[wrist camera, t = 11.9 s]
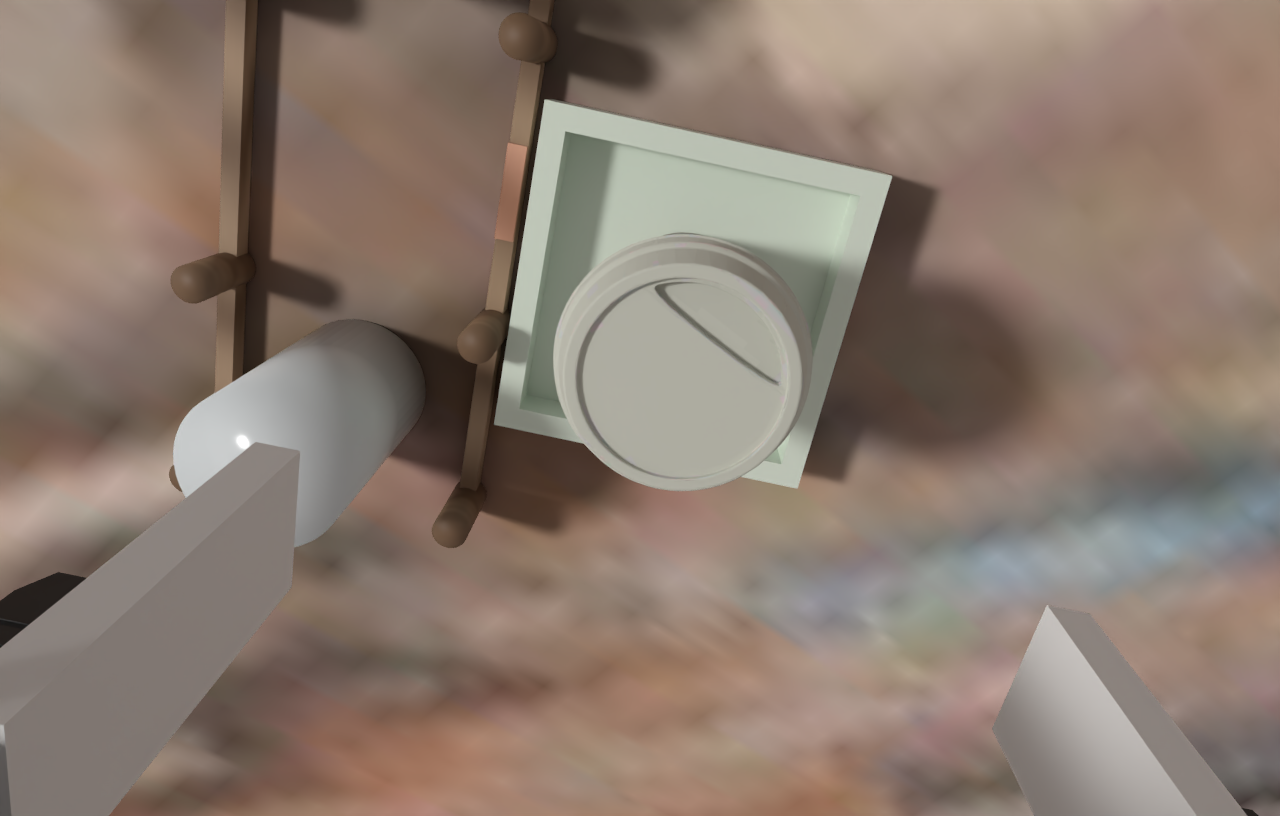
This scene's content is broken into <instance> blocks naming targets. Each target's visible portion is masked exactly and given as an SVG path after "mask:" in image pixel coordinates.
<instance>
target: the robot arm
mask: <svg viewBox="0 0 1280 816" xmlns="http://www.w3.org/2000/svg"><path fill="white" fill-rule="evenodd" d="M299 462H300V451H298V450H293V449H288V448H283V447H278V446H274V445H269V444H264V443H259V442H255V443H254V444H252V445H251V446H250V447H249V448H247V449H246V450H245V451H244V452H242V453H241V454H240V455H239V456H237V457H236V458H235V459H234V460H232V461H231V462H230V463H229V464H228V465H226V466H225V467H224V468H223V469H221V470H220V471H219V472H218V473H216V474H215V475H214V476H213V477H211V478H210V479H209V480H208V481H206V482H205V483H204V484H203V485H202V486H200V487H199V488H198V489H197V490H195V491H194V492H193V493H192V494H190V495H189V496H188V497H187V498H185V499H184V500H183V501H182V502H180V503H179V504H178V505H177V506H176V507H174V508H173V509H172V510H171V511H169V512H168V513H167V514H166V515H164V516H163V517H162V518H161V519H159V520H158V521H157V522H156V523H154V524H153V525H152V526H151V527H149V528H148V529H147V530H146V531H145V532H143V533H142V534H141V535H140V536H138V537H137V538H136V539H135V540H133V541H132V542H131V543H130V544H128V545H127V546H126V547H125V548H123V549H122V550H121V551H120V552H119V553H117V554H116V555H115V556H114V557H112V558H111V559H110V560H109V561H107V562H106V563H105V564H104V565H102V566H101V567H100V568H99V569H97V570H96V571H95V572H94V573H93V574H91V575H90V576H89V577H88V578H84V577H79V576H75V575H70V574H65V573H60V572H58V573H55V574H53V575H51V576H48V577H46V578H43V579H41V580H38V581H36V582H34V583H31V584H29V585H26V586H24V587H21V588H19V589H17V590H14V591H13V592H12V593H10V594H9V595H8V596H6V597H5V598H4V599H2V600H1V601H0V816H109V815H110V813H111V812H112V811H113V810H114V808H115V807H116V806H117V805H118V803H119V802H120V801H121V800H122V798H123V797H124V796H125V795H126V793H127V792H128V791H129V790H130V788H131V787H132V786H133V785H134V783H135V782H136V781H137V780H138V778H139V777H140V776H141V775H142V773H143V772H144V771H145V770H146V768H147V767H148V766H149V765H150V763H151V762H152V761H153V760H154V758H155V757H156V756H157V755H158V753H159V752H160V751H161V750H162V748H163V747H164V746H165V745H166V743H167V742H168V741H169V740H170V738H171V737H172V736H173V735H174V733H175V732H176V731H177V730H178V728H179V727H180V726H181V725H182V723H183V722H184V721H185V720H186V718H187V717H188V716H189V715H190V713H191V712H192V711H193V710H194V708H195V707H196V706H197V705H198V703H199V702H200V701H201V700H202V698H203V697H204V696H205V695H206V693H207V692H208V691H209V690H210V688H211V687H212V686H213V685H214V683H215V682H216V681H217V680H218V678H219V677H220V676H221V675H222V673H223V672H224V671H225V670H226V668H227V667H228V666H229V665H230V663H231V662H232V661H233V660H234V658H235V657H236V656H237V655H238V653H239V652H240V651H241V650H242V648H243V647H244V646H245V645H246V643H247V642H248V641H249V640H250V638H251V637H252V636H253V635H254V633H255V632H256V631H257V630H258V628H259V627H260V626H261V625H262V623H263V622H264V621H265V620H266V618H267V617H268V616H269V615H270V613H271V612H272V611H273V610H274V608H275V607H276V606H277V605H278V603H279V602H280V601H281V600H282V598H283V597H284V596H285V595H286V593H287V592H288V591H289V590H290V588H291V586H292V571H293V555H294V540H295V524H296V509H297V493H298V478H299ZM992 730H993V732H994V734H995V736H996V738H997V740H998V742H999V744H1000V746H1001V748H1002V750H1003V753H1004V755H1005V757H1006V759H1007V761H1008V763H1009V765H1010V767H1011V769H1012V771H1013V773H1014V775H1015V777H1016V779H1017V781H1018V784H1019V786H1020V788H1021V790H1022V792H1023V794H1024V796H1025V798H1026V800H1027V802H1028V804H1029V806H1030V808H1031V810H1032V812H1033V815H1034V816H1258V815H1257V814H1256V813H1255V812H1254V811H1253V810H1249V809H1244V808H1241V807H1240V806H1239V804H1238V803H1237V802H1236V801H1235V799H1234V798H1233V797H1232V795H1231V794H1230V793H1229V792H1228V790H1227V789H1226V788H1225V786H1224V785H1223V784H1222V783H1221V781H1220V780H1219V779H1218V778H1217V776H1216V775H1215V774H1214V772H1213V771H1212V770H1211V769H1210V767H1209V766H1208V765H1207V763H1206V762H1205V761H1204V760H1203V758H1202V757H1201V756H1200V754H1199V753H1198V752H1197V751H1196V749H1195V748H1194V747H1193V745H1192V744H1191V743H1190V742H1189V740H1188V739H1187V738H1186V736H1185V735H1184V734H1183V733H1182V731H1181V730H1180V729H1179V728H1178V726H1177V725H1176V724H1175V722H1174V721H1173V720H1172V719H1171V717H1170V716H1169V715H1168V713H1167V712H1166V711H1165V710H1164V708H1163V707H1162V706H1161V704H1160V703H1159V702H1158V701H1157V699H1156V698H1155V697H1154V695H1153V694H1152V693H1151V692H1150V690H1149V689H1148V688H1147V686H1146V685H1145V684H1144V683H1143V681H1142V680H1141V679H1140V677H1139V676H1138V675H1137V674H1136V672H1135V671H1134V670H1133V669H1132V667H1131V666H1130V665H1129V663H1128V662H1127V661H1126V660H1125V658H1124V657H1123V656H1122V654H1121V653H1120V652H1119V651H1118V649H1117V648H1116V647H1115V645H1114V644H1113V643H1112V642H1111V640H1110V639H1109V638H1108V636H1107V635H1106V634H1105V633H1104V631H1103V630H1102V629H1101V627H1100V626H1099V625H1098V624H1097V622H1096V621H1095V620H1094V619H1093V617H1092V616H1091V615H1090V614H1089V613H1084V612H1079V611H1074V610H1069V609H1065V608H1060V607H1055V606H1050V605H1047V606H1046V609H1045V611H1044V613H1043V615H1042V618H1041V620H1040V622H1039V624H1038V627H1037V629H1036V631H1035V633H1034V636H1033V638H1032V640H1031V642H1030V645H1029V647H1028V649H1027V651H1026V654H1025V656H1024V658H1023V660H1022V663H1021V665H1020V667H1019V669H1018V672H1017V674H1016V676H1015V678H1014V681H1013V683H1012V685H1011V687H1010V690H1009V692H1008V694H1007V696H1006V699H1005V701H1004V703H1003V705H1002V708H1001V710H1000V712H999V714H998V717H997V719H996V721H995V723H994V726H993V728H992Z"/></svg>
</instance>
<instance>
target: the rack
mask: <svg viewBox="0 0 1280 816" xmlns="http://www.w3.org/2000/svg"><path fill="white" fill-rule="evenodd" d="M554 2H555V0H530V4H529V11H528V14H526V13H521V12H518V13H513V14H511V15H509V16H507V17H506V18H505V19H504V20H503V22H502V23H501V26H500V28H499V42H500V45H501V47H502V49H503V50H504V52H505V53H506V54H507V55H508V56H510V57H511V58H513V59H516V60H521V66H520V73H519V80H518V87H517V93H516V100H515V107H514V114H513V121H512V128H511V135H510V142H508V146H507V153H506V160H505V167H504V174H503V181H502V188H501V195H500V202H499V209H498V216H497V222H496V229H495V236H494V238H495V246H494V252H493V259H492V266H491V273H490V280H489V287H488V294H487V301H486V307H485V308H484V309H483V310H482V311H481V312H480V313H479V314H478V315H477V317H476V318H475V319H474V320H473V321H472V322H471V323H470V324H469V325H468V326H467V327H466V328H465V329H464V330H463V331H462V332H461V333H460V335H459V337H458V340H457V348H458V351H459V353H460V355H461V356H462V357H463V358H464V359H465V360H467V361H468V362H471V363H474V364H477V370H476V377H475V384H474V391H473V398H472V405H471V411H470V418H469V425H468V432H467V439H466V446H465V453H464V460H463V467H462V474H461V481H460V482H459V483H458V484H457V485H456V487H455V489H454V490H453V492H452V494H451V496H450V497H449V499H448V501H447V502H446V504H445V506H444V507H443V509H442V511H441V512H440V514H439V516H438V518H437V519H436V521H435V523H434V524H433V527H432V535H433V537H434V539H435V540H436V542H437V543H439V544H440V545H442V546H444V547H447V548H455V547H458V546H460V545H462V544H463V543H464V542H465V540H466V538H467V536H468V534H469V532H470V530H471V528H472V526H473V524H474V522H475V520H476V518H477V516H478V514H479V512H480V510H481V508H482V506H483V504H484V502H485V500H486V495H487V494H486V490H485V487H484V486H483V485H482V484H481V483H480V482H481V476H482V469H483V463H484V456H485V450H486V443H487V437H488V430H489V424H490V417H491V411H492V404H493V398H494V391H495V385H496V378H497V372H498V365H499V359H500V352H501V346H502V343H503V341H504V340H505V339H506V337H507V336H508V331H509V324H510V318H511V312H510V311H509V310H508V309H507V307H508V300H509V294H510V287H511V281H512V274H513V268H514V261H515V255H516V249H517V242H518V236H519V229H520V223H521V216H522V210H523V203H524V197H525V190H526V184H527V177H528V171H529V164H530V158H531V151H532V145H533V138H534V132H535V125H536V119H537V112H538V106H539V99H540V93H541V86H542V80H543V73H544V67H545V63H546V62H548V61H550V60H551V59H552V58H553V57H554V55H555V53H556V51H557V46H558V41H557V36H556V34H555V32H554V31H553V29H552V28H551V21H552V15H553V9H554ZM257 9H258V0H226V13H225V49H224V84H223V120H222V155H221V191H220V226H219V253H218V254H215V255H212V256H209V257H206V258H203V259H200V260H197V261H194V262H191V263H188V264H185V265H182V266H179V267H178V268H176V269H175V270H174V271H173V273H172V275H171V286H172V289H173V291H174V292H175V294H176V295H177V296H178V297H179V298H180V299H182V300H183V301H185V302H188V303H199V302H202V301H204V300H207V299H209V298H211V297H214V296H216V295H218V297H217V333H216V368H215V393H216V392H218V391H219V390H221V389H222V388H224V387H226V386H227V385H229V384H230V383H232V382H233V381H235V380H237V379H238V378H240V377H241V376H243V356H244V331H245V306H246V283H247V282H249V281H250V280H252V278H253V277H254V275H255V272H256V267H255V263H254V260H253V259H252V257H251V256H250V255H249V254H248V232H249V207H250V183H251V158H252V133H253V108H254V84H255V59H256V34H257ZM169 477H170V481H171V483H172V484H173V485H174V487H175V488H176V489H178V490H179V491H181V492H182V489H181V487H180V485H179V482H178V480H177V477H176V473H175V468H174V465H173V466H172V467H171V469H170V472H169Z"/></svg>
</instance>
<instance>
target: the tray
mask: <svg viewBox="0 0 1280 816" xmlns="http://www.w3.org/2000/svg"><path fill="white" fill-rule="evenodd" d="M891 179H892V176H891V175H888V174H886V173H883V172H880V171H877V170H873V169H868V168H863V167H859V166H854V165H850V164H845V163H841V162H836V161H832V160H827V159H823V158H818V157H814V156H809V155H805V154H800V153H795V152H791V151H786V150H782V149H777V148H773V147H768V146H764V145H759V144H755V143H750V142H746V141H741V140H736V139H732V138H727V137H723V136H718V135H714V134H709V133H705V132H700V131H696V130H691V129H687V128H682V127H678V126H673V125H668V124H664V123H659V122H655V121H650V120H646V119H641V118H637V117H632V116H628V115H623V114H619V113H614V112H610V111H605V110H600V109H596V108H591V107H587V106H582V105H578V104H573V103H569V102H564V101H560V100H555V99H545V100H544V107H543V113H542V120H541V126H540V132H539V139H538V145H537V152H536V158H535V164H534V171H533V177H532V184H531V190H530V196H529V203H528V209H527V216H526V222H525V228H524V235H523V241H522V248H521V254H520V260H519V267H518V273H517V280H516V286H515V292H514V299H513V305H512V312H511V318H510V324H509V331H508V337H507V344H506V350H505V356H504V363H503V369H502V376H501V382H500V388H499V395H498V401H497V408H496V414H495V420H494V425H498V426H503V427H507V428H512V429H517V430H522V431H526V432H531V433H536V434H541V435H545V436H550V437H555V438H560V439H564V440H569V441H574V442H579V443H583V442H582V441H581V440H580V438H579V437H578V436H577V434H576V433H575V432H574V430H573V428H572V427H571V425H570V424H569V422H568V420H567V418H566V416H565V414H564V411H563V409H562V407H561V404H560V401H559V397H558V394H557V390H556V384H555V377H554V368H553V349H554V341H555V335H556V331H557V327H558V323H559V320H560V317H561V315H562V312H563V310H564V308H565V306H566V304H567V302H568V300H569V298H570V297H571V295H572V293H573V292H574V290H575V289H576V288H577V286H578V285H579V284H580V282H581V281H582V280H583V279H584V278H585V277H586V275H587V274H588V273H589V272H590V271H591V270H593V269H594V268H595V267H596V266H597V265H598V264H599V263H601V262H602V261H603V260H605V259H606V258H607V257H609V256H610V255H612V254H614V253H615V252H617V251H619V250H621V249H623V248H625V247H627V246H629V245H631V244H634V243H637V242H639V241H642V240H646V239H649V238H653V237H658V236H663V235H666V234H671V233H680V232H685V233H694V234H699V235H703V236H708V237H713V238H717V239H721V240H724V241H727V242H730V243H733V244H735V245H737V246H740V247H742V248H744V249H746V250H747V251H749V252H751V253H753V254H754V255H756V256H757V257H759V258H760V259H762V260H763V261H764V262H766V263H767V264H768V265H769V266H770V267H772V268H773V269H774V270H775V271H776V272H777V273H778V274H779V275H780V276H781V277H782V279H783V280H784V281H785V282H786V283H787V285H788V286H789V287H790V289H791V290H792V292H793V293H794V295H795V296H796V298H797V300H798V302H799V304H800V306H801V308H802V310H803V312H804V315H805V317H806V320H807V323H808V327H809V331H810V336H811V342H812V353H813V363H812V374H811V382H810V388H809V392H808V396H807V399H806V402H805V405H804V408H803V410H802V412H801V415H800V417H799V419H798V421H797V422H796V424H795V426H794V427H793V429H792V430H791V432H790V433H789V435H788V436H787V437H786V439H785V440H784V441H783V442H782V443H781V445H780V446H779V447H778V448H777V449H776V450H775V451H774V452H773V453H772V454H771V455H770V456H769V457H767V458H766V459H765V460H764V461H763V462H762V463H761V464H760V465H758V466H757V467H756V468H754V469H753V470H751V471H750V472H748V473H747V474H745V475H743V476H741V477H745V478H749V479H754V480H759V481H763V482H768V483H773V484H778V485H782V486H787V487H792V488H798V485H799V482H800V478H801V475H802V472H803V469H804V465H805V462H806V459H807V455H808V452H809V449H810V446H811V442H812V439H813V436H814V432H815V429H816V426H817V422H818V419H819V416H820V413H821V409H822V406H823V403H824V399H825V396H826V393H827V390H828V386H829V383H830V380H831V376H832V373H833V370H834V367H835V363H836V360H837V357H838V353H839V350H840V347H841V344H842V340H843V337H844V334H845V330H846V327H847V324H848V321H849V317H850V314H851V311H852V307H853V304H854V301H855V298H856V294H857V291H858V288H859V284H860V281H861V278H862V274H863V271H864V268H865V265H866V261H867V258H868V255H869V251H870V248H871V245H872V242H873V238H874V235H875V232H876V228H877V225H878V222H879V219H880V215H881V212H882V209H883V205H884V202H885V199H886V196H887V192H888V189H889V186H890V182H891ZM583 444H584V443H583Z"/></svg>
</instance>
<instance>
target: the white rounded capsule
mask: <svg viewBox="0 0 1280 816" xmlns="http://www.w3.org/2000/svg"><path fill="white" fill-rule="evenodd" d="M425 398H426V386H425V379H424V375H423V371H422V369H421V366H420V364H419V362H418V360H417V358H416V356H415V355H414V353H413V352H412V350H411V349H410V348H409V347H408V346H407V345H406V343H405V342H404V341H402V340H401V339H400V338H399V337H398V336H397V335H395V334H394V333H392V332H391V331H389V330H388V329H386V328H384V327H382V326H380V325H377V324H375V323H371V322H368V321H363V320H356V319H346V320H338V321H334V322H330V323H328V324H325V325H323V326H321V327H320V328H318V329H316V330H315V331H313V332H311V333H310V334H308V335H307V336H305V337H304V338H302V339H300V340H299V341H297V342H296V343H294V344H292V345H291V346H289V347H288V348H286V349H284V350H283V351H281V352H280V353H278V354H276V355H275V356H273V357H272V358H270V359H268V360H267V361H265V362H264V363H262V364H261V365H259V366H257V367H256V368H254V369H253V370H251V371H249V372H248V373H246V374H245V375H243V376H241V377H240V378H238V379H237V380H235V381H233V382H232V383H230V384H229V385H227V386H226V387H224V388H222V389H221V390H219V391H218V392H216V393H214V394H213V395H211V396H210V397H208V398H206V399H205V400H203V401H202V402H200V403H199V404H198V405H196V406H195V407H194V408H193V409H192V410H191V411H190V412H189V413H188V414H187V415H186V417H185V418H184V420H183V421H182V423H181V425H180V427H179V429H178V432H177V434H176V438H175V442H174V451H173V459H174V468H175V473H176V477H177V480H178V482H179V485H180V487H181V489H182V492H183V494H184V496H185V497H186V498H187V497H188V496H189V495H190V494H192V493H193V492H194V491H195V490H197V489H198V488H199V487H200V486H202V485H203V484H204V483H205V482H206V481H208V480H209V479H210V478H211V477H213V476H214V475H215V474H216V473H218V472H219V471H220V470H221V469H223V468H224V467H225V466H226V465H228V464H229V463H230V462H231V461H232V460H234V459H235V458H236V457H237V456H239V455H240V454H241V453H242V452H244V451H245V450H246V449H247V448H249V447H250V446H251V445H252V444H254V443H255V442H259V443H264V444H269V445H274V446H278V447H283V448H288V449H293V450H298V451H300V462H299V478H298V493H297V509H296V524H295V540H294V547H297V546H300V545H303V544H306V543H309V542H310V541H312V540H314V539H316V538H318V537H319V536H320V535H322V534H323V533H325V532H326V531H327V530H328V529H329V528H330V527H331V526H332V524H333V523H334V522H335V521H336V520H337V518H338V517H339V516H340V515H341V514H342V512H343V511H344V510H345V509H346V508H347V506H348V505H349V504H350V503H351V501H352V500H353V499H354V498H355V497H356V495H357V494H358V493H359V492H360V491H361V489H362V488H363V487H364V486H365V485H366V483H367V482H368V481H369V480H370V478H371V477H372V476H373V475H374V474H375V472H376V471H377V470H378V469H379V468H380V466H381V465H382V464H383V463H384V462H385V460H386V459H387V458H388V457H389V456H390V454H391V453H392V452H393V451H394V449H395V448H396V447H397V446H398V445H399V443H400V442H401V441H402V440H403V439H404V437H405V436H406V435H407V434H408V433H409V431H410V430H411V429H412V428H413V426H414V425H415V424H416V422H417V421H418V419H419V417H420V415H421V413H422V410H423V408H424V403H425Z"/></svg>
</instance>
